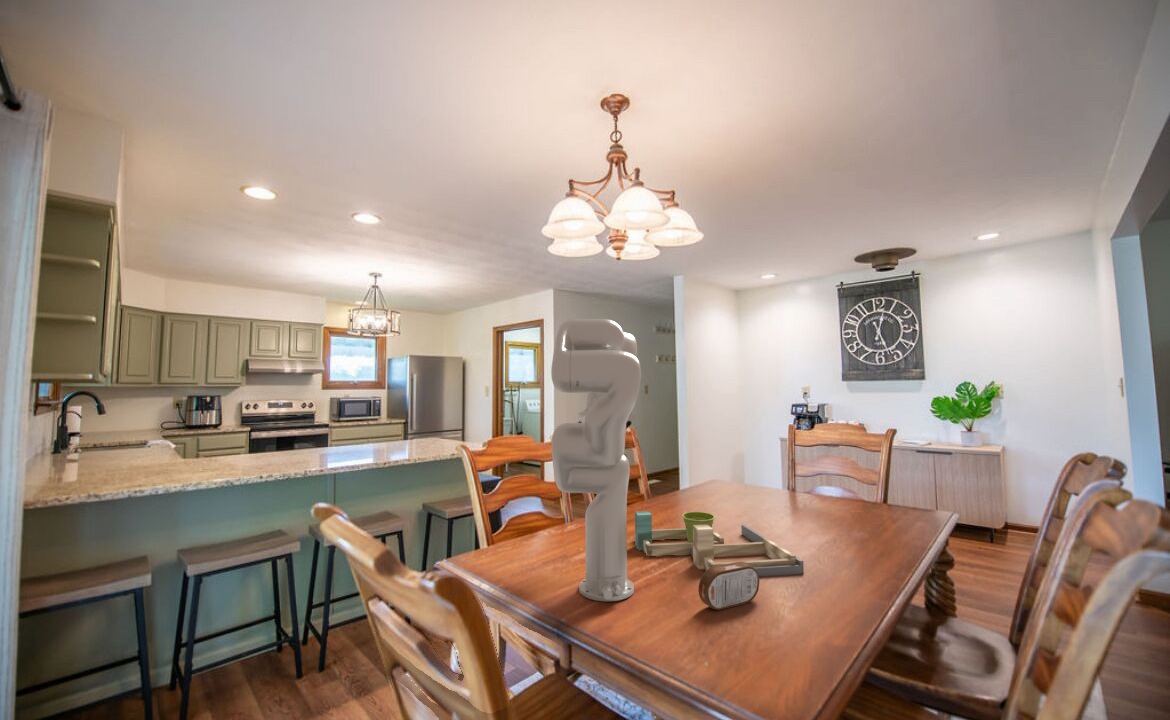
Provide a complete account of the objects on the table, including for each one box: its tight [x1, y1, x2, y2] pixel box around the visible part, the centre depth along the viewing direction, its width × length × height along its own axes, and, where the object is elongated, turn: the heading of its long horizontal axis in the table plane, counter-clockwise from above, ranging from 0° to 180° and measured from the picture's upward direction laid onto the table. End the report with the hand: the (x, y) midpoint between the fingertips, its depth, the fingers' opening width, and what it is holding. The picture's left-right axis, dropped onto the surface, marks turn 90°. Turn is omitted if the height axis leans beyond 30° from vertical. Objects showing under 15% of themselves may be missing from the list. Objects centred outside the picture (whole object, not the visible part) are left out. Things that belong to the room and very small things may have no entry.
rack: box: [690, 524, 805, 577], centre depth 133 cm, size 32×23×3 cm
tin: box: [698, 560, 760, 611], centre depth 102 cm, size 15×3×8 cm, turn 115°
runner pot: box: [634, 510, 725, 558], centre depth 140 cm, size 14×23×10 cm, turn 97°
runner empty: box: [691, 525, 797, 572], centre depth 126 cm, size 14×23×10 cm, turn 97°
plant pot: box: [681, 511, 716, 542], centre depth 141 cm, size 9×9×9 cm
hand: (604, 444), depth 136 cm, fingers open, 9 cm apart
